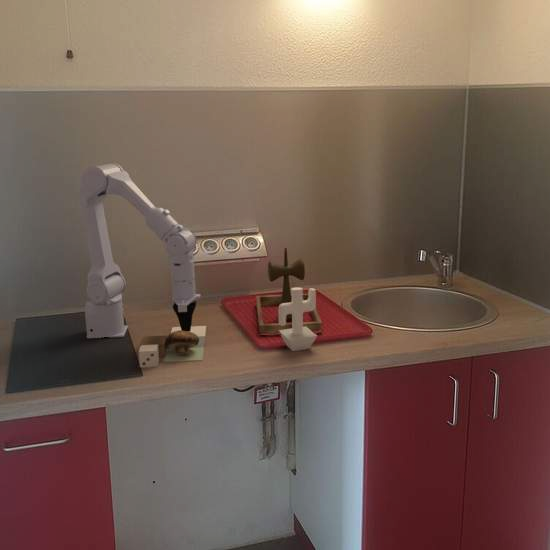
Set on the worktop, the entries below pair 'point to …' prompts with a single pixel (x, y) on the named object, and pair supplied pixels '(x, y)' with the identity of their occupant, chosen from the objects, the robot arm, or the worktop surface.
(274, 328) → the brown rectangular frame
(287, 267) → the kendama
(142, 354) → the beige cube
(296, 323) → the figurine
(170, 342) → the mushroom
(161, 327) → the worktop surface
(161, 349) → the plinth
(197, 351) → the board
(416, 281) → the worktop surface
